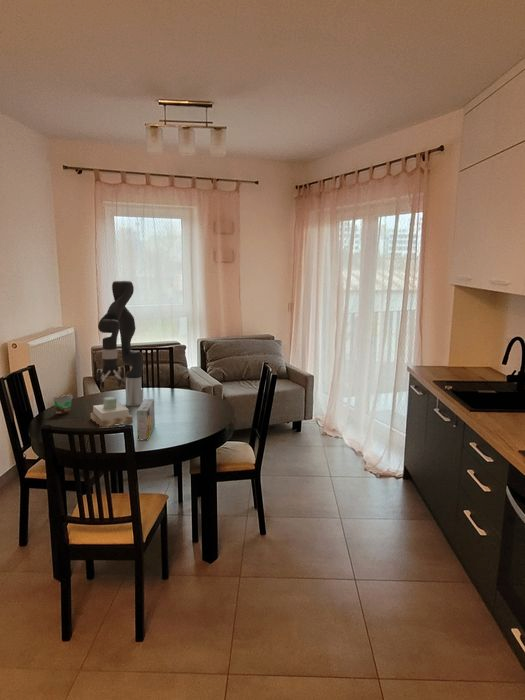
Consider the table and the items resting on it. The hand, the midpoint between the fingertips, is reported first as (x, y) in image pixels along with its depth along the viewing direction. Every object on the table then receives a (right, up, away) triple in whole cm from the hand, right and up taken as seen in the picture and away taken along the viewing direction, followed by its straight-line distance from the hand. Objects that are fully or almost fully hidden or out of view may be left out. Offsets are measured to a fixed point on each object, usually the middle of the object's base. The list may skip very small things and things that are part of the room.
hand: (110, 387), depth 240 cm
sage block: (-1, -11, +2) cm, 11 cm away
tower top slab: (-1, -15, +2) cm, 15 cm away
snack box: (+23, -22, -14) cm, 35 cm away
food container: (-30, -16, +15) cm, 37 cm away
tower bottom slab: (-1, -19, +3) cm, 19 cm away
